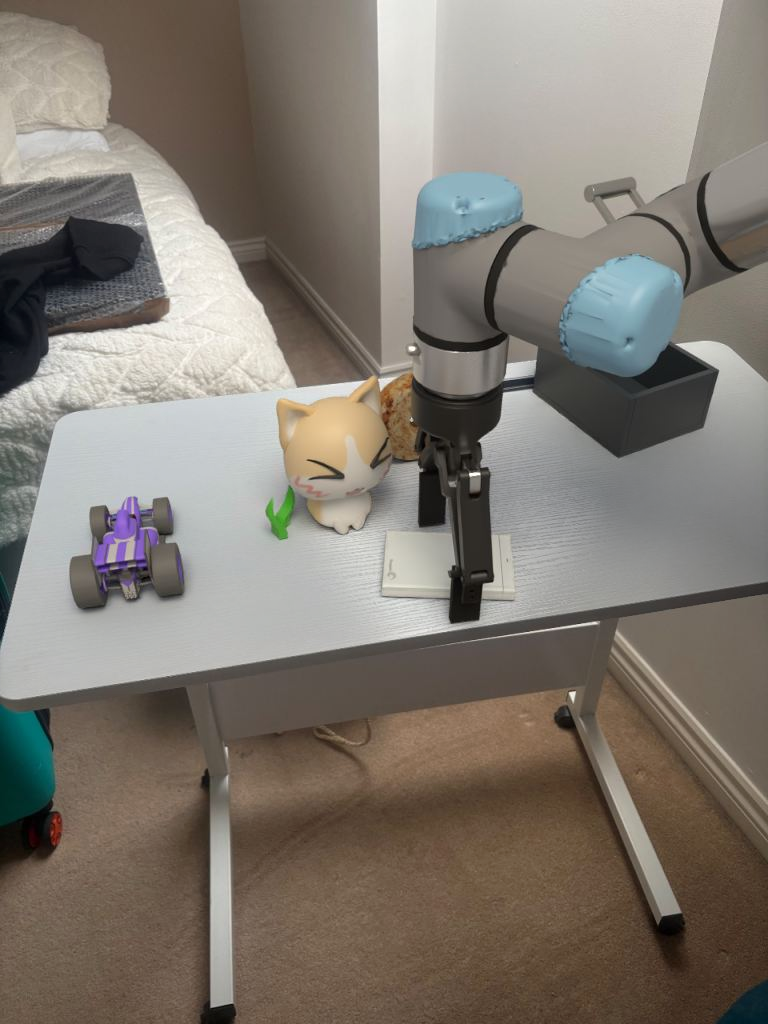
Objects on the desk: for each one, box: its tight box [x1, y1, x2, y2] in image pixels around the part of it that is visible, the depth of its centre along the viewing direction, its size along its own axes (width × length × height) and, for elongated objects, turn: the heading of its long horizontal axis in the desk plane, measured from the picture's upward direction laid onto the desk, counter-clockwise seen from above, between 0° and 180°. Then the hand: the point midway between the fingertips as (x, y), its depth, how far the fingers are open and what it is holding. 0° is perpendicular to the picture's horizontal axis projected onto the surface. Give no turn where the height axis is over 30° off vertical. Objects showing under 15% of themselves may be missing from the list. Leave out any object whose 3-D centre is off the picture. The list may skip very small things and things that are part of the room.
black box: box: [532, 340, 720, 459], centre depth 100 cm, size 17×13×8 cm
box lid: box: [583, 176, 646, 225], centre depth 97 cm, size 18×13×8 cm
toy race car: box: [68, 495, 185, 609], centre depth 80 cm, size 10×15×6 cm, turn 12°
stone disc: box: [380, 371, 421, 461], centre depth 93 cm, size 10×4×10 cm, turn 116°
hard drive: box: [381, 530, 517, 601], centre depth 80 cm, size 2×8×12 cm
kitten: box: [264, 375, 393, 540], centre depth 82 cm, size 15×10×15 cm
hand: (446, 568), depth 81 cm, fingers open, 13 cm apart
